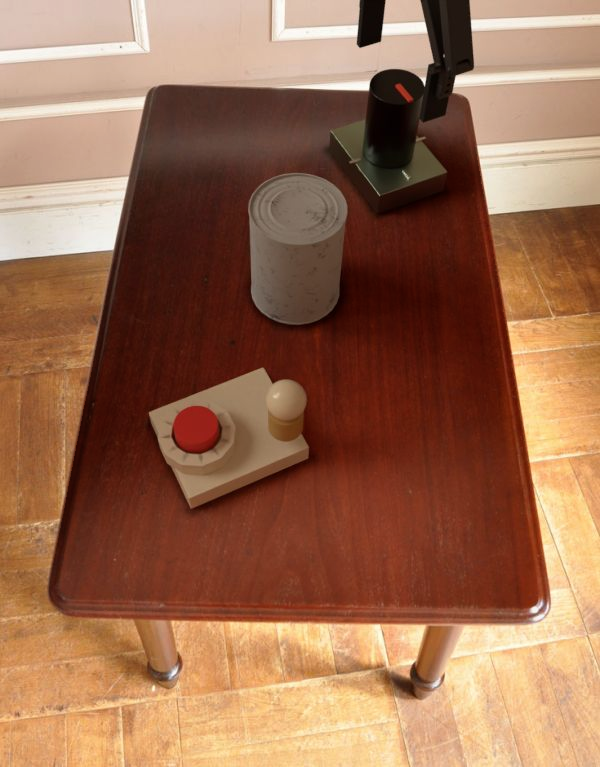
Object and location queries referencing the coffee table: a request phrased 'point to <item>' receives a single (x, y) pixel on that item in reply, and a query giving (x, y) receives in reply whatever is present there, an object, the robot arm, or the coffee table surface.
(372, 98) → the dimmer knob
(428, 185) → the panel
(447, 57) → the robot arm
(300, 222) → the unlabeled tin can
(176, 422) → the lamp button
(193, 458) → the beige button base
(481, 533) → the coffee table surface
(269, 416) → the led lamp
